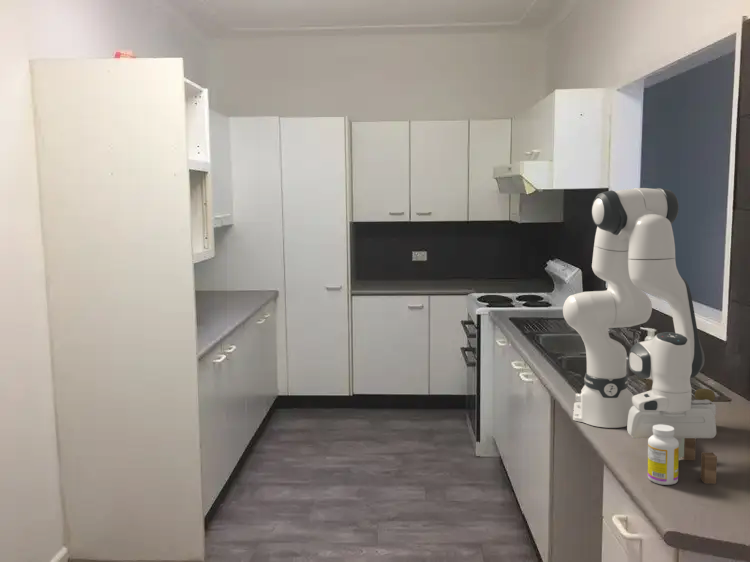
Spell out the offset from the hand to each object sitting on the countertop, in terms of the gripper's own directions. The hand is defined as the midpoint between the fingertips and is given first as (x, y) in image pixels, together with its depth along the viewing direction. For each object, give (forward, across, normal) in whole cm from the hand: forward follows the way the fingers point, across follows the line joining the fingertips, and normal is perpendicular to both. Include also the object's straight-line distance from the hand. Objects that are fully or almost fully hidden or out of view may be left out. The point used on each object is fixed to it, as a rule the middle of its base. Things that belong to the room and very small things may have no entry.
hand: (670, 454), depth 164 cm
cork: (+3, -18, -28) cm, 33 cm away
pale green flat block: (+2, 0, -3) cm, 3 cm away
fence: (+3, -6, -5) cm, 8 cm away
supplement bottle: (+3, +4, +8) cm, 10 cm away
